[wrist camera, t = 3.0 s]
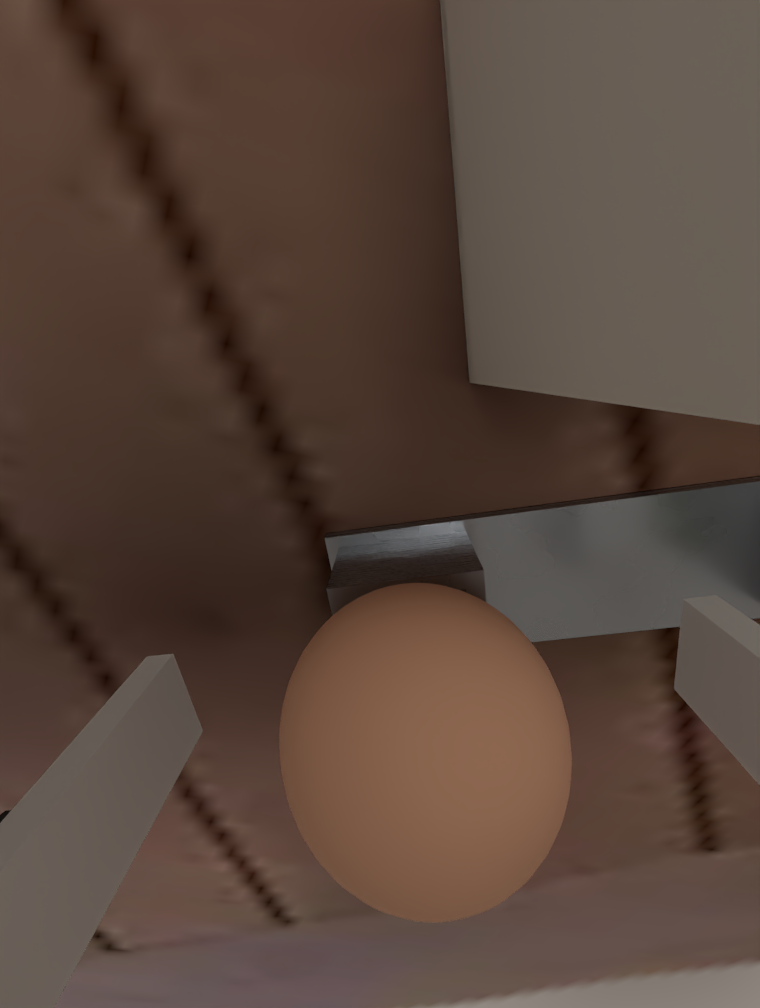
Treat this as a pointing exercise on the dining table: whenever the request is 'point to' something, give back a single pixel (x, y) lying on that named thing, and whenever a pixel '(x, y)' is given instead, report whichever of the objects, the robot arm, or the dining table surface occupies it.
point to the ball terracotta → (425, 752)
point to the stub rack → (573, 558)
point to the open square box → (610, 198)
